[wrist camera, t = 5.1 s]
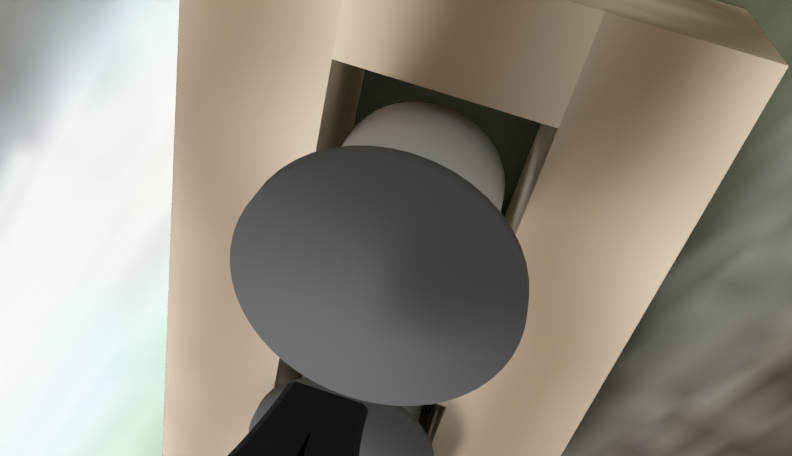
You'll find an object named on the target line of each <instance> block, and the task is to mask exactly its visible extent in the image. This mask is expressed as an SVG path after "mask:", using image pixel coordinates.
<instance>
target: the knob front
mask: <svg viewBox="0 0 792 456" xmlns="http://www.w3.org/2000/svg"><path fill="white" fill-rule="evenodd" d="M504 192H505V176H504V170H503V165H502V162H501V159H500V157H499V154H498V152H497V150H496V148H495V147H494V145H493V144H492V142H491V140H490V139H489V138H488V137H487V135H486V134H485V133H484V132H483V131H482V130H481V129H480V128H479V127H478V126H477V125H476V124H475V123H474V122H472V121H471V120H469V119H468V118H466V117H465V116H464V115H462V114H460V113H458V112H456V111H454V110H452V109H449V108H446V107H444V106H441V105H437V104H433V103H426V102H402V103H396V104H392V105H388V106H385V107H383V108H380V109H378V110H376V111H374V112H373V113H371V114H369V115H368V116H366V117H365V118H364V119H363V120H361V121H360V122H359V123H358V124H357V125H356V127H355V128H354V129H353V130H352V131H351V133H350V134H349V136H348V137H347V139H346V140H345V142H344V143H343V145H342V146H341V147H334V148H328V149H324V150H321V151H317V152H313V153H310V154H308V155H306V156H303V157H301V158H298V159H296V160H294V161H292V162H291V163H289V164H288V165H286V166H284V167H283V168H281V169H280V170H278V171H277V172H276V173H275V174H274V175H273V176H271V177H270V178H269V179H268V180H267V181H266V182H265V184H264V185H263V186H262V187H261V188H260V189H259V191H258V192H257V193H256V194H255V196H254V197H253V198H252V199H251V201H250V202H249V203H248V204H247V205H246V207H245V209H244V210H243V212H242V214H241V216H240V217H239V219H238V222H237V224H236V227H235V230H234V232H233V236H232V242H231V247H230V270H231V278H232V283H233V286H234V290H235V294H236V297H237V299H238V301H239V304H240V306H241V308H242V311H243V312H244V314H245V316H246V318H247V319H248V321H249V323H250V324H251V326H252V327H253V329H254V330H255V331H256V333H257V334H258V335H259V337H260V338H261V339H262V340H263V341H264V342H265V344H266V345H267V346H268V347H269V348H270V349H271V350H272V351H273V352H274V353H275V354H276V355H277V356H278V357H280V358H281V359H282V360H283V361H284V362H285V363H287V364H288V365H289V366H291V367H292V368H293V369H295V370H296V371H297V372H299V373H300V374H302V375H304V376H305V377H307V378H308V379H310V380H312V381H313V382H315V383H317V384H319V385H321V386H323V387H325V388H327V389H329V390H332V391H335V392H337V393H340V394H342V395H345V396H348V397H351V398H355V399H358V400H362V401H366V402H371V403H377V404H383V405H393V406H419V405H429V404H435V403H440V402H444V401H449V400H452V399H455V398H458V397H461V396H463V395H465V394H467V393H470V392H472V391H474V390H476V389H478V388H479V387H481V386H482V385H484V384H485V383H487V382H488V381H490V380H491V379H492V378H493V377H494V376H496V375H497V374H498V373H499V372H500V371H501V370H502V369H503V368H504V367H505V365H506V364H507V363H508V362H509V360H510V359H511V358H512V356H513V355H514V353H515V351H516V349H517V347H518V346H519V344H520V341H521V338H522V335H523V333H524V330H525V324H526V318H527V312H528V302H529V276H528V270H527V263H526V260H525V257H524V254H523V251H522V248H521V245H520V243H519V241H518V239H517V237H516V235H515V233H514V231H513V229H512V228H511V226H510V225H509V223H508V222H507V220H506V219H505V217H504V216H503V214H502V213H501V209H502V204H503V199H504Z"/></svg>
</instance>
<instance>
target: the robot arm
mask: <svg viewBox="0 0 792 456" xmlns="http://www.w3.org/2000/svg"><path fill="white" fill-rule="evenodd" d="M367 414H368V409H367V408H366V406H365V405H364V404H363V403H360V402H357V401H354V400H351V399H348V398H345V397H342V396H339V395H336V394H333V393H330V392H327V391H324V390H321V389H317V388H314V387H311V386H308V385H305V384H302V383H299V382H296V381H294V382H291V383H288V384H287V386H286V387H285V388H284V390H283V391H282V393H281V394H280V395H279V397H278V398H277V399H276V401H275V402H274V403H273V405H272V406H271V407H270V408H269V410H268V411H267V412H266V413H265V415H264V416H263V417H262V418H261V419H260V420H259V422H258V423H257V424H256V425H255V426H254V427H253V429H252V430H251V431H250V432H249V433H248V434H247V435H246V436H245V438H244V439H243V440H242V441H241V442H240V443H239V444H238V445H237V446H236V447H235V448H234V449H233V450H232V451H231V452H230V453H229V455H228V456H359V452H360V444H361V439H362V433H363V429H364V424H365V421H366V417H367Z"/></svg>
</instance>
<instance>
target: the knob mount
mask: <svg viewBox="0 0 792 456" xmlns="http://www.w3.org/2000/svg"><path fill="white" fill-rule="evenodd" d="M788 67H789V65H788V64H787V63H786V61H785V60H784V59H783V57H782V56H781V55H780V53H779V52H778V51H777V49H776V48H775V47H774V45H773V44H772V43H771V41H770V40H769V39H768V37H767V36H766V35H765V33H764V32H763V31H762V30H761V28H760V27H759V26H758V24H757V23H756V22H755V20H754V19H753V18H752V16H751V15H750V14H749V12H748V11H747V10H746V9H744V8H741V7H737V6H734V5H730V4H727V3H723V2H720V1H716V0H180V5H179V32H178V58H177V84H176V110H175V136H174V162H173V188H172V214H171V240H170V267H169V293H168V319H167V345H166V371H165V397H164V423H163V449H162V456H228V455H229V453H230V452H231V451H232V450H233V449H234V448H235V447H236V446H237V445H238V444H239V443H240V442H241V441H242V440H243V439H244V438H245V436H246V435H247V434H248V433H249V426H250V422H251V420H252V418H253V416H254V414H255V412H256V410H257V408H258V406H259V404H260V402H261V401H262V399H263V398H264V397H265V396H266V394H268V393H269V392H270V391H271V390H272V389H274V388H275V387H277V386H279V385H280V384H283V383H285V382H288V381H291V380H295V379H299V378H302V376H303V375H302V374H300V373H299V372H297V371H296V370H295V369H293V368H292V367H291V366H289V365H288V364H287V363H285V362H284V361H283V360H282V359H281V358H280V357H278V356H277V355H276V354H275V353H274V352H273V351H272V350H271V349H270V348H269V347H268V346H267V345H266V344H265V342H264V341H263V340H262V339H261V338H260V337H259V335H258V334H257V333H256V331H255V330H254V329H253V327H252V326H251V324H250V323H249V321H248V319H247V318H246V316H245V314H244V312H243V311H242V308H241V306H240V304H239V301H238V299H237V297H236V294H235V290H234V286H233V283H232V278H231V270H230V247H231V242H232V236H233V232H234V230H235V227H236V224H237V222H238V219H239V217H240V216H241V214H242V212H243V210H244V209H245V207H246V205H247V204H248V203H249V202H250V201H251V199H252V198H253V197H254V196H255V194H256V193H257V192H258V191H259V189H260V188H261V187H262V186H263V185H264V184H265V182H266V181H267V180H268V179H269V178H270V177H271V176H273V175H274V174H275V173H276V172H277V171H278V170H280V169H281V168H283V167H284V166H286V165H288V164H289V163H291V162H292V161H294V160H296V159H298V158H301V157H303V156H306V155H308V154H310V153H313V152H317V151H321V150H324V149H328V148H334V147H341V146H342V145H343V143H344V142H345V140H346V139H347V137H348V136H349V134H350V133H351V131H352V130H353V127H354V123H355V118H356V113H357V108H358V103H359V98H360V94H361V89H362V84H363V79H364V74H365V70H369V71H372V72H376V73H379V74H382V75H385V76H389V77H392V78H395V79H398V80H402V81H405V82H408V83H411V84H415V85H418V86H421V87H424V88H428V89H431V90H434V91H437V92H441V93H444V94H447V95H451V96H454V97H457V98H460V99H464V100H467V101H470V102H473V103H477V104H480V105H483V106H486V107H490V108H493V109H496V110H499V111H503V112H506V113H509V114H512V115H516V116H519V117H522V118H526V119H529V120H532V121H535V122H539V123H540V126H539V128H538V131H537V134H536V136H535V139H534V141H533V144H532V147H531V149H530V152H529V154H528V157H527V160H526V162H525V165H524V168H523V170H522V173H521V175H520V178H519V181H518V183H517V186H516V188H515V191H514V194H513V196H512V199H511V202H510V204H509V207H508V209H507V212H506V215H505V219H506V220H507V222H508V223H509V225H510V226H511V228H512V229H513V231H514V233H515V235H516V237H517V239H518V241H519V243H520V245H521V248H522V251H523V254H524V257H525V260H526V263H527V270H528V276H529V302H528V312H527V318H526V324H525V330H524V333H523V335H522V338H521V341H520V344H519V346H518V347H517V349H516V351H515V353H514V355H513V356H512V358H511V359H510V360H509V362H508V363H507V364H506V365H505V367H504V368H503V369H502V370H501V371H500V372H499V373H498V374H497V375H496V376H494V377H493V378H492V379H491V380H490V381H488V382H487V383H485V384H484V385H482V386H481V387H479V388H478V389H476V390H474V391H472V392H470V393H467V394H465V395H463V396H461V397H458V398H455V399H452V400H449V401H444V402H440V403H435V404H433V405H432V408H431V411H430V413H429V414H427V413H424V412H420V416H419V420H418V422H419V424H420V425H421V426H422V428H423V429H424V431H425V432H426V434H427V436H428V438H429V440H430V442H431V444H432V448H433V451H434V456H561V454H562V453H563V451H564V449H565V448H566V446H567V444H568V442H569V441H570V439H571V437H572V436H573V434H574V432H575V431H576V429H577V427H578V425H579V424H580V422H581V420H582V419H583V417H584V415H585V413H586V412H587V410H588V408H589V407H590V405H591V403H592V401H593V400H594V398H595V396H596V395H597V393H598V391H599V390H600V388H601V386H602V384H603V383H604V381H605V379H606V378H607V376H608V374H609V372H610V371H611V369H612V367H613V366H614V364H615V362H616V360H617V359H618V357H619V355H620V354H621V352H622V350H623V349H624V347H625V345H626V343H627V342H628V340H629V338H630V337H631V335H632V333H633V331H634V330H635V328H636V326H637V325H638V323H639V321H640V319H641V318H642V316H643V314H644V313H645V311H646V309H647V307H648V306H649V304H650V302H651V301H652V299H653V297H654V296H655V294H656V292H657V290H658V289H659V287H660V285H661V284H662V282H663V280H664V278H665V277H666V275H667V273H668V272H669V270H670V268H671V266H672V265H673V263H674V261H675V260H676V258H677V256H678V255H679V253H680V251H681V249H682V248H683V246H684V244H685V243H686V241H687V239H688V237H689V236H690V234H691V232H692V231H693V229H694V227H695V225H696V224H697V222H698V220H699V219H700V217H701V215H702V214H703V212H704V210H705V208H706V207H707V205H708V203H709V202H710V200H711V198H712V196H713V195H714V193H715V191H716V190H717V188H718V186H719V184H720V183H721V181H722V179H723V178H724V176H725V174H726V173H727V171H728V169H729V167H730V166H731V164H732V162H733V161H734V159H735V157H736V155H737V154H738V152H739V150H740V149H741V147H742V145H743V143H744V142H745V140H746V138H747V137H748V135H749V133H750V132H751V130H752V128H753V126H754V125H755V123H756V121H757V120H758V118H759V116H760V114H761V113H762V111H763V109H764V108H765V106H766V104H767V102H768V101H769V99H770V97H771V96H772V94H773V92H774V91H775V89H776V87H777V85H778V84H779V82H780V80H781V79H782V77H783V75H784V73H785V72H786V70H787V68H788Z"/></svg>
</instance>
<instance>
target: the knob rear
mask: <svg viewBox="0 0 792 456" xmlns="http://www.w3.org/2000/svg"><path fill="white" fill-rule="evenodd" d="M294 381H296V382H299V383H302V384H305V385H308V386H311V387H314V388H317V389H321V390H324V391H327V392H330V393H333V394H336V395H339V396H342V397H345V398H348V399H351V400H354V401H357V402H360V403H363V404H364V405H365V406H366V408H367V409H368V414H367V417H366V421H365V424H364V429H363V433H362V439H361V444H360V452H359V456H434V451H433V448H432V444H431V442H430V440H429V438H428V436H427V434H426V432H425V431H424V429H423V428H422V426H421V425H420V424H419V422H418V420H419V416H420V412H421V408H422V405H419V406H393V405H383V404H377V403H371V402H366V401H362V400H358V399H355V398H351V397H348V396H345V395H342V394H340V393H337V392H335V391H332V390H329V389H327V388H325V387H323V386H321V385H319V384H317V383H315V382H313V381H312V380H310V379H308V378H307V377H305V376H304V375H303V376H302V378H299V379H295V380H291V381H288V382H285V383H283V384H280V385H279V386H277V387H275V388H274V389H272V390H271V391H270V392H269V393H268V394H266V396H265V397H264V398H263V399H262V401H261V402H260V404H259V406H258V408H257V410H256V412H255V414H254V416H253V418H252V420H251V422H250V426H249V432H250V431H251V430H252V429H253V427H254V426H255V425H256V424H257V423H258V422H259V420H260V419H261V418H262V417H263V416H264V415H265V413H266V412H267V411H268V410H269V408H270V407H271V406H272V405H273V403H274V402H275V401H276V399H277V398H278V397H279V395H280V394H281V393H282V391H283V390H284V388H285V387H286V386H287V384H288V383H291V382H294Z"/></svg>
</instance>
